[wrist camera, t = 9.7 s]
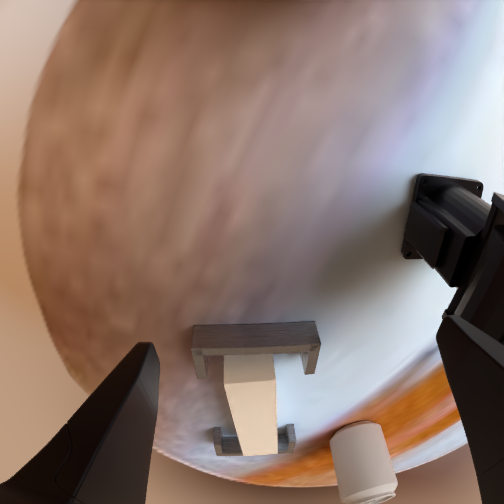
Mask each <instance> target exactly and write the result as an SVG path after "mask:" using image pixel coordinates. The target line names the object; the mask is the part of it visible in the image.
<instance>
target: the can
mask: <svg viewBox="0 0 504 504" xmlns="http://www.w3.org/2000/svg"><path fill="white" fill-rule="evenodd" d="M330 448H331V453H332V457H333V462H334V467H335V472H336V477H337V483H338V488H339V493H340V498H341V502H343V503H345V504H379V503H382V502H385V501H387V500H389V499H391V498H393V497H394V496H395V495H396V494H395V493H394V490H395V489H396V487H397V485H398V483H397V479H396V476H395V472H394V469H393V465H392V462H391V458H390V455H389V452H388V448H387V445H386V442H385V439H384V435H383V432H382V429H381V426H380V425H379V424H376V423H373V422H371V421H360V422H356V423H352V424H350V425H347V426H345V427H343V428H341V429H340V430H338V431H337V432H336V433H335V434H334V436H333V437H332V439H331V440H330Z"/></svg>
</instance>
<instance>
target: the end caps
mask: <svg viewBox="0 0 504 504" xmlns="http://www.w3.org/2000/svg"><path fill="white" fill-rule="evenodd" d="M320 346H321V341H320V338H319V334H318V331H317V327H316V324H315V321H308V322H291V323H271V324H243V325H194V328H193V336H192V344H191V351H192V356H193V361H194V366H195V370H196V375H197V379H207V371H208V355H257V354H278V353H294V352H300V354H301V359H302V364H303V369H304V373H305V375H307V374H314V372H315V368H316V364H317V360H318V355H319V351H320ZM277 441H278V453H277V454H281V453H292V452H293V450H294V447H295V443H296V437H295V430H294V424H289V425H287V428H286V432H285V435H277ZM214 447H215V451H216V454H217V456H243V453H242V449H241V446H240V442H239V439H238V437H223V436H222V431H221V427H214Z"/></svg>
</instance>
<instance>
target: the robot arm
mask: <svg viewBox="0 0 504 504" xmlns="http://www.w3.org/2000/svg"><path fill="white" fill-rule="evenodd" d="M424 179H425V182H424V183H423V184H422V181H423V180H424ZM477 187H478V188H477ZM482 192H483V184H482V183H481V182H480V181H478V180H472V179H465V178H458V177H450V176H442V175H433V174H424V173H422V174H420V175H418V177H417V179H416V184H415V190H414V195H413V201H412V204H411V206H410V211H409V216H408V221H407V225H406V230H405V234H404V242H403V246H402V250H401V254H402V256H403V257H404V258H405V259H424V260H425V261H426V262H427V264H428V265H429V266H430V267H431V268H432V269H434V268H435V270H436V271H437V272H438V273H439V274H440V276H441V277H442V278H443V279H444V280H445V282H446V283H447V284H448V285H449V287H456V288H457V291H456V293H455V295H454V297H453V299H452V301H451V303H450V305H449V306H448V308H447V309H446V310H445V311H444V313H443V315H442V319H443V320H442V322H441V325H440V327H439V329H438V332H437V334H436V341H437V344H438V348H439V351H440V354H441V358H442V362H443V365H444V369H445V373H446V376H447V379H448V382H449V385H450V388H451V391H452V393H453V396H454V399H455V402H456V405H457V408H458V411H459V414H460V417H461V420H462V424H463V427H464V430H465V433H466V437H467V440H468V444H469V447H470V451H471V455H472V459H473V463H474V467H475V471H476V475H477V480H478V485H479V489H480V495H481V500H482V504H504V195H501V194H498V193H495V192H494V194H493V197H492V200H491V201H492V205H489V204H488V203H486V202H485V201H484V200H482V199H481V196H482ZM408 251H409V252H408ZM407 252H408V253H407ZM406 253H407V254H406ZM159 377H160V361H159V358H158V356H157V353H156V350H155V347H154V345H153V343H151V342H138V343H137V344H136V345H135V346H134V347H133V348H132V349H131V351H130V352H129V353H128V354H127V355H126V356H125V357H124V358H123V359H122V360H121V362H120V363H119V364H118V365H117V366H116V367H115V368H114V369H113V370H112V372H111V373H110V374H109V375H108V376H107V377H106V378H105V379H104V381H103V382H102V383H101V384H100V385H99V386H98V387H97V388H96V390H95V391H94V392H93V393H92V394H91V395H90V396H89V397H88V399H87V400H86V401H85V402H84V403H83V404H82V405H81V407H80V408H79V409H78V410H77V411H76V412H75V413H74V414H73V416H72V417H71V418H70V419H69V420H68V421H67V424H65V425H64V426H63V427H62V428H61V429H60V430H59V432H58V433H57V434H56V435H55V436H54V437H53V438H52V440H50V442H49V443H48V444H47V445H46V446H45V447H43V448H42V449H41V450H40V451H39V452H38V453H37V454H36V455H35V456H34V457H33V458H32V459H31V460H30V461H29V462H28V463H27V464H26V465H24V467H22V468H21V469H20V470H19V471H18V472H17V473H16V474H15V475H14V476H12V477H11V478H10V479H9V480H7V481H5V482H3V483H1V484H0V504H145V500H146V491H147V483H148V475H149V468H150V467H149V466H150V460H151V453H152V446H153V440H154V433H155V427H156V420H157V413H158V395H159Z"/></svg>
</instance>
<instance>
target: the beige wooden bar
mask: <svg viewBox="0 0 504 504" xmlns="http://www.w3.org/2000/svg"><path fill="white" fill-rule="evenodd" d="M224 387H225V391H226V395H227V399H228V403H229V406H230V410H231V414H232V417H233V421H234V425H235V428H236V432H237V435H238V439H239V442H240V446H241V449H242V453H243V456H253V455H267V454H277V453H278V441H277V402H276V377H275V369H274V361H273V354H257V355H224Z"/></svg>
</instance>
